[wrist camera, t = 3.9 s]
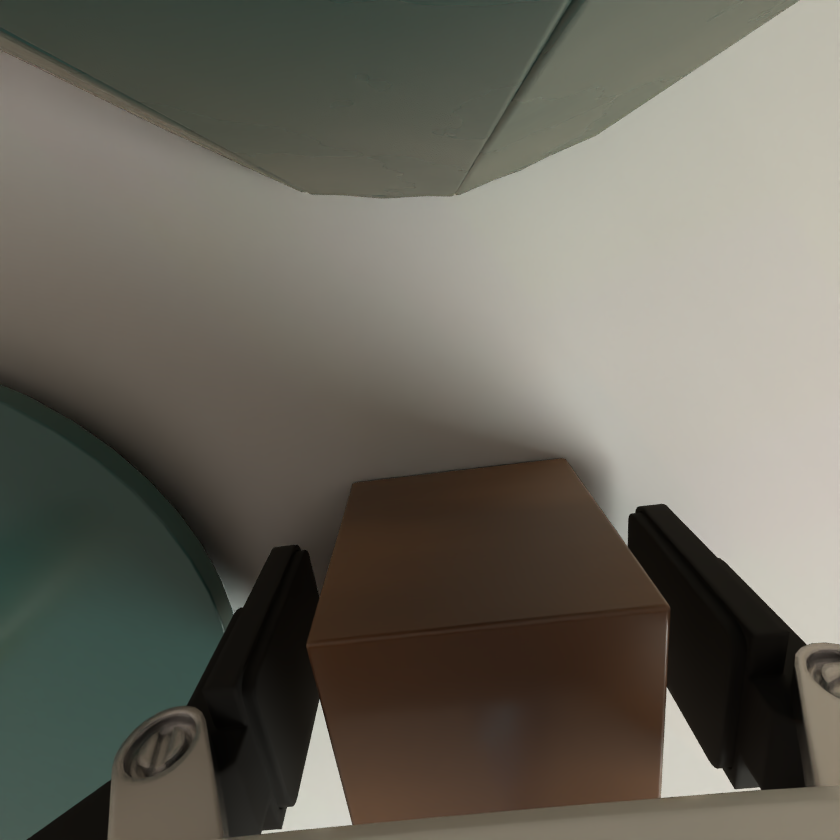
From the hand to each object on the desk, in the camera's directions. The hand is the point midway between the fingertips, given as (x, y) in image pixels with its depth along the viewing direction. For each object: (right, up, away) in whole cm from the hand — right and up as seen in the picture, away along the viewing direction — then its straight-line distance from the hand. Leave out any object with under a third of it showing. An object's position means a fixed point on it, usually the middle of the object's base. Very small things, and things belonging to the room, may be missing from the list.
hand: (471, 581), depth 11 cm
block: (0, 0, +1) cm, 1 cm away
